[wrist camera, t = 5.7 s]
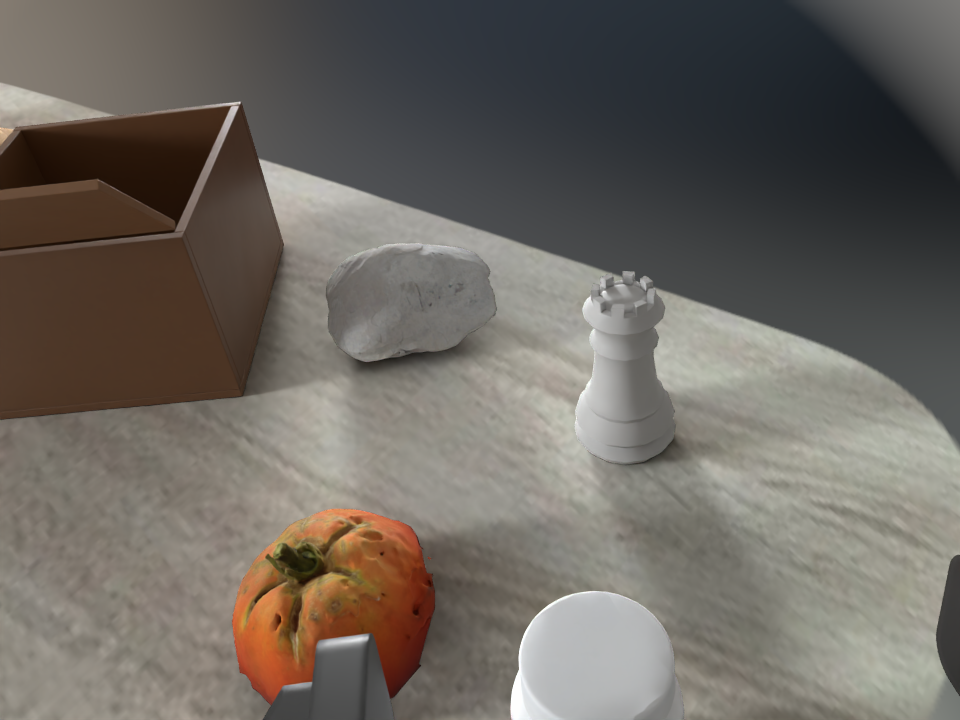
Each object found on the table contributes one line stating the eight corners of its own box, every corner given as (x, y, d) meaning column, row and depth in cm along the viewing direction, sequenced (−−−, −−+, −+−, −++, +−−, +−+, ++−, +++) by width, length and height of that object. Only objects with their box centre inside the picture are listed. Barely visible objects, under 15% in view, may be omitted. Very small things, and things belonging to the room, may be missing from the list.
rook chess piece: (560, 415, 42) (550, 274, 37) (649, 389, 43) (651, 247, 37) (597, 482, 38) (591, 337, 33) (693, 452, 39) (702, 306, 34)
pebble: (411, 268, 52) (397, 193, 49) (521, 312, 48) (513, 233, 45) (303, 349, 48) (279, 272, 45) (414, 406, 43) (396, 325, 40)
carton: (284, 244, 56) (241, 100, 50) (242, 396, 45) (181, 237, 39) (82, 265, 57) (15, 126, 51) (-6, 420, 46) (-103, 267, 40)
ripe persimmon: (321, 480, 38) (365, 449, 32) (440, 590, 39) (507, 581, 32) (182, 633, 35) (199, 633, 28) (315, 751, 35) (362, 777, 29)
